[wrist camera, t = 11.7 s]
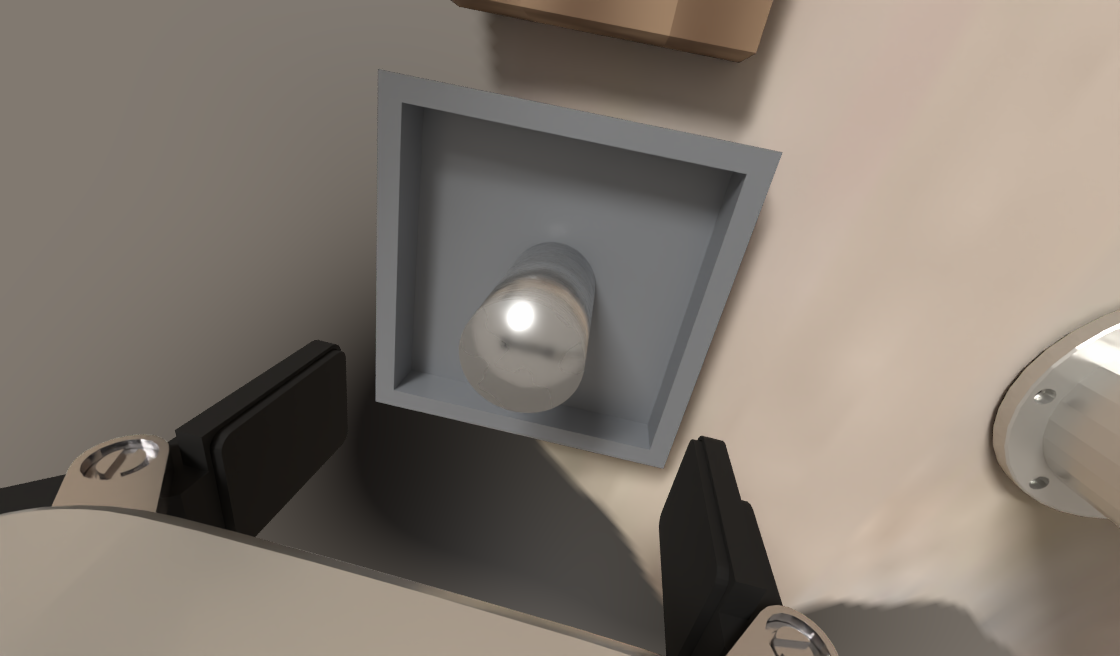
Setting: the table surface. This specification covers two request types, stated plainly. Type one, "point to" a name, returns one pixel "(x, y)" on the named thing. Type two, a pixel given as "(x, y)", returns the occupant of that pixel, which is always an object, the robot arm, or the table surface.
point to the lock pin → (532, 331)
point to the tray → (563, 217)
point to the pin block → (651, 21)
